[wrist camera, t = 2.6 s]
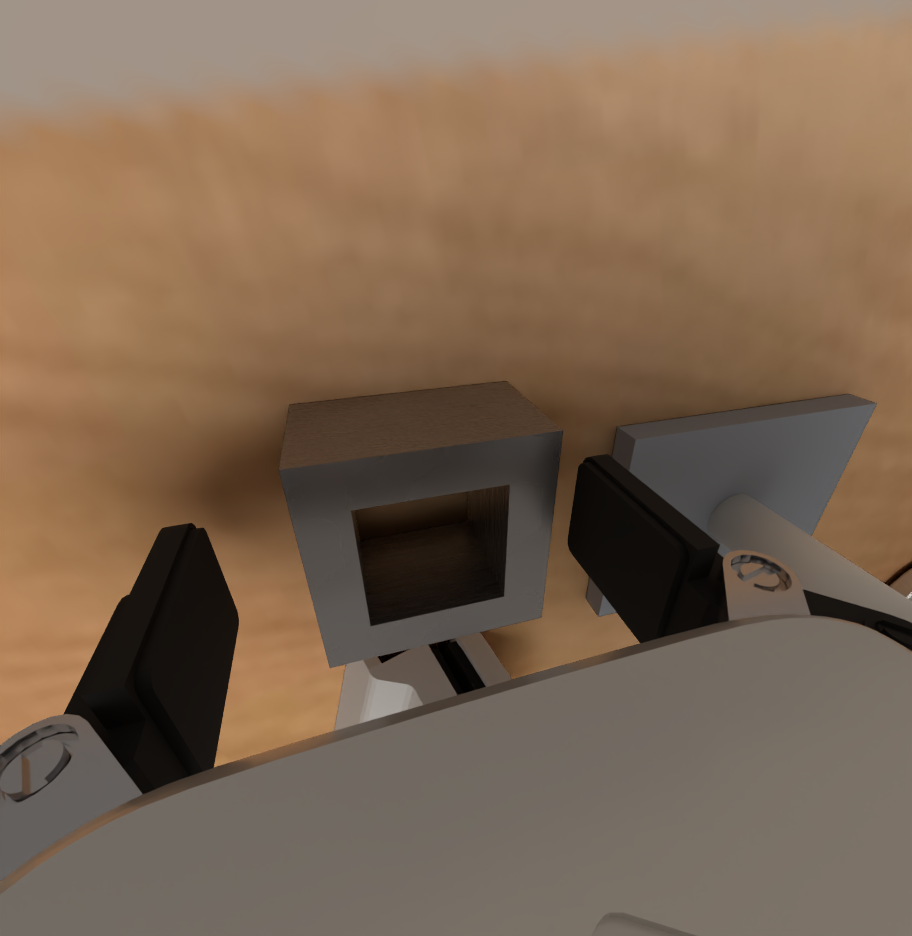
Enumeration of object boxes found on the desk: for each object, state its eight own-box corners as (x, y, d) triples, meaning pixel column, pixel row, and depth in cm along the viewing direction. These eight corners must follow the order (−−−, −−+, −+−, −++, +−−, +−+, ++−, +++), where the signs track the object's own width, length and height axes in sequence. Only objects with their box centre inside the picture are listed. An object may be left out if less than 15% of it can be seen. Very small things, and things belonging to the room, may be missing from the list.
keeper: (849, 394, 17) (1138, 489, 11) (775, 554, 21) (956, 687, 15) (617, 426, 14) (819, 569, 9) (585, 598, 18) (709, 775, 13)
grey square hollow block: (506, 381, 13) (563, 430, 10) (500, 542, 16) (541, 617, 13) (289, 404, 11) (278, 470, 8) (327, 575, 14) (329, 667, 11)
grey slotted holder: (352, 629, 16) (545, 979, 9) (455, 595, 19) (661, 842, 12) (311, 856, 23) (402, 1145, 16) (390, 806, 26) (496, 1035, 19)
